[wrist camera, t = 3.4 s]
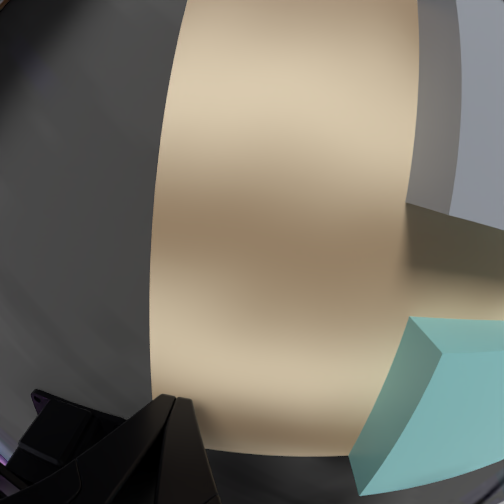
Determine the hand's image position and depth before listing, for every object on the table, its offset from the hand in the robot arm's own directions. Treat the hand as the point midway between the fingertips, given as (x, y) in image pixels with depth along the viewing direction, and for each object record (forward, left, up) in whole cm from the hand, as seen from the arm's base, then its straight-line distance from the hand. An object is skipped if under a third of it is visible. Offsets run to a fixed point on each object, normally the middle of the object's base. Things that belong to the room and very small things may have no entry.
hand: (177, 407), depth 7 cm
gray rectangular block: (+9, -9, -1) cm, 13 cm away
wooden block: (+5, -8, -5) cm, 10 cm away
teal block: (0, -10, -1) cm, 10 cm away
